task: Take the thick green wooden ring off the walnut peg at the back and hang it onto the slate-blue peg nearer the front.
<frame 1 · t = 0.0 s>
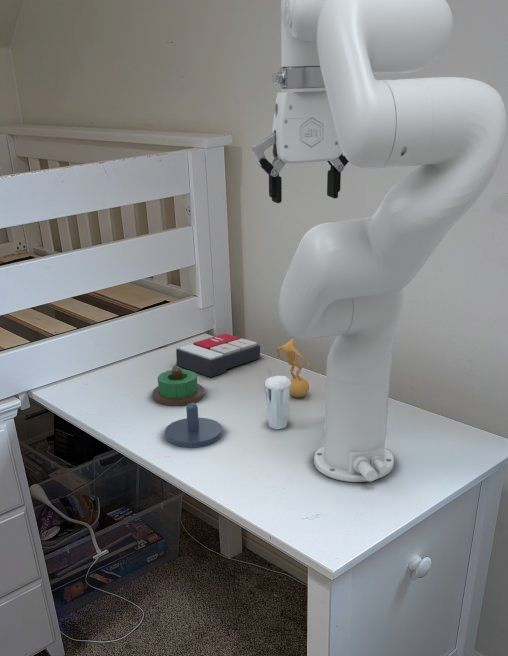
hand: (304, 199, 121), 37 cm above the table, tool pointing down, fingers open, 9 cm apart
ring: (178, 390, 145), point 1 cm above the table, touching walnut peg
calculator: (218, 362, 161), on the table
figurine: (295, 399, 143), on the table
milkshake: (276, 425, 133), on the table
slate peg: (193, 434, 131), on the table
walnut peg: (178, 395, 146), on the table
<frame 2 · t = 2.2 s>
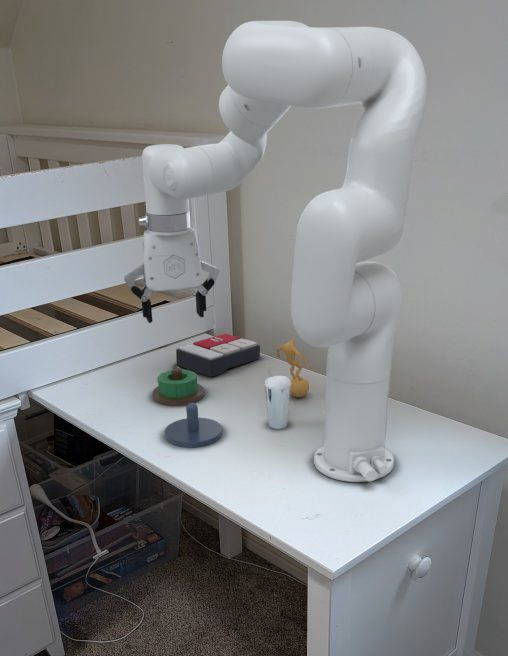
hand: (174, 317, 138), 16 cm above the table, tool pointing down, fingers open, 9 cm apart
nothing on the table moved.
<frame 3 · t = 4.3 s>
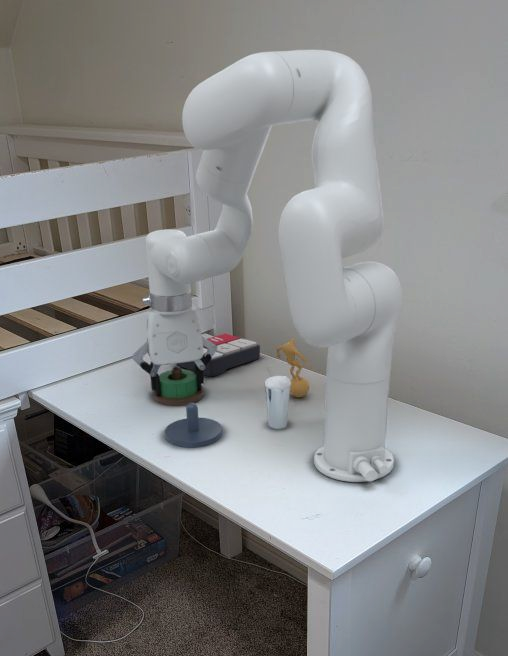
hand: (178, 389, 145), 1 cm above the table, tool pointing down, fingers closed on ring, 7 cm apart
ring: (178, 390, 145), point 1 cm above the table, touching gripper, walnut peg
everything else where it was.
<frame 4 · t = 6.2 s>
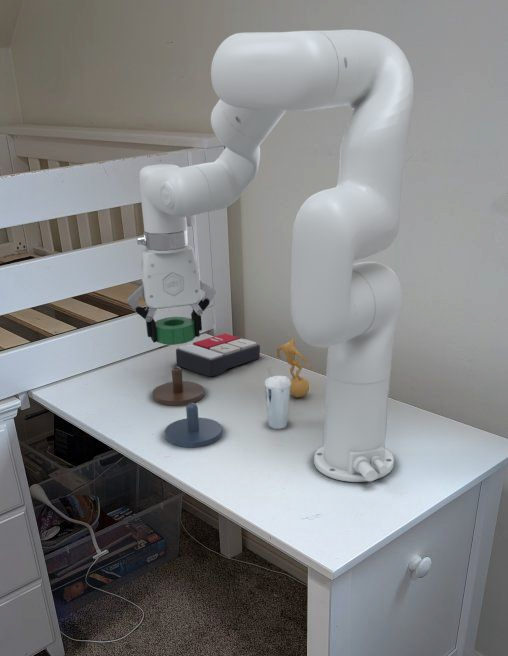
hand: (175, 336, 140), 12 cm above the table, tool pointing down, fingers closed on ring, 7 cm apart
ring: (175, 338, 140), point 12 cm above the table, touching gripper
everything else where it was.
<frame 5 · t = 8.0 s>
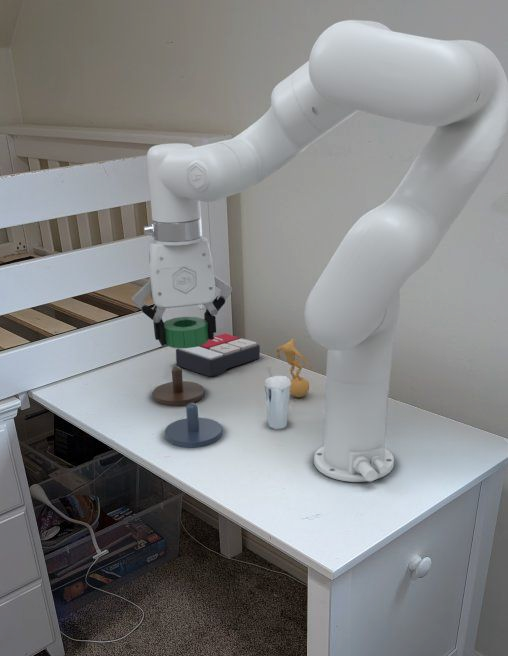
hand: (186, 339, 124), 17 cm above the table, tool pointing down, fingers closed on ring, 7 cm apart
ring: (186, 340, 124), point 16 cm above the table, touching gripper
everything else where it was.
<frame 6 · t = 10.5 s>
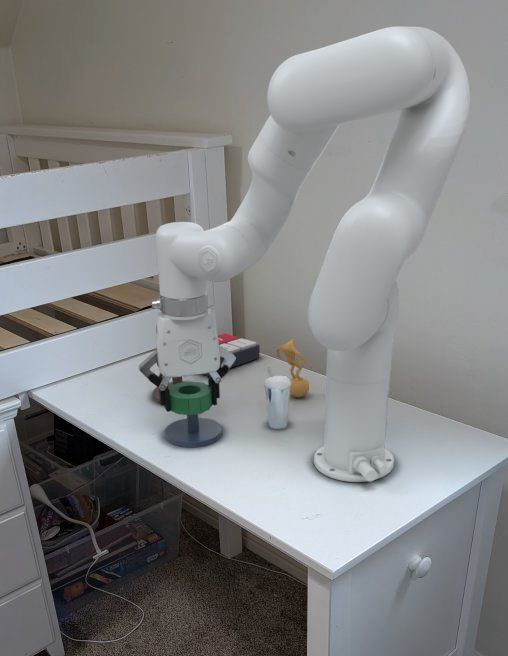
hand: (190, 404, 128), 6 cm above the table, tool pointing down, fingers closed on ring, 7 cm apart
ring: (190, 405, 128), point 5 cm above the table, touching gripper
everything else where it was.
when the fingers open (1 cm above the table, at t = 12.2 s): ring stays where it is, resting on slate peg.
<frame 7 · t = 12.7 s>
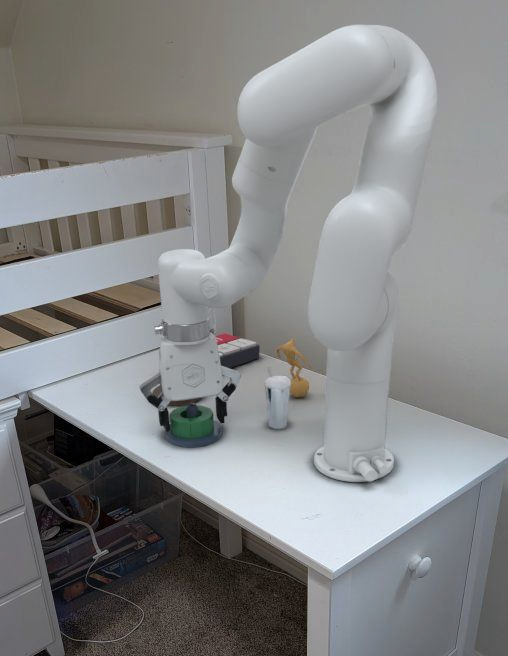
hand: (193, 424, 130), 2 cm above the table, tool pointing down, fingers open, 9 cm apart
ring: (192, 429, 130), point 1 cm above the table, touching slate peg
everything else where it was.
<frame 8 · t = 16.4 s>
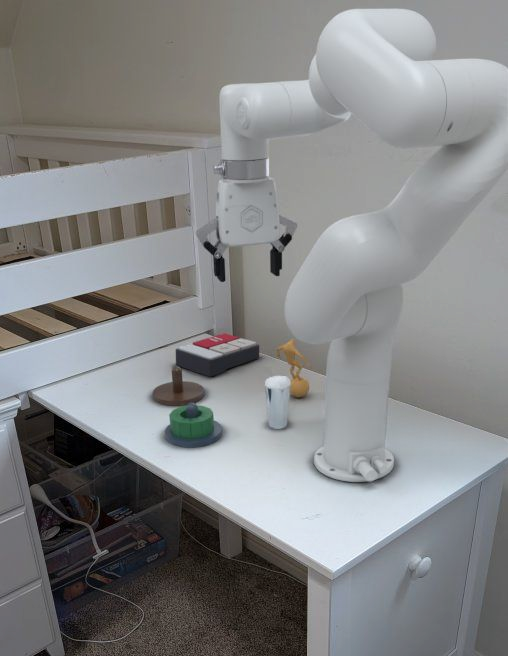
hand: (248, 277, 128), 24 cm above the table, tool pointing down, fingers open, 9 cm apart
nothing on the table moved.
at the end: ring moved 17.9 cm from its start; ring 0.2 cm off-centre on the slate peg, point 1.0 cm above the slate peg's base; ring tilted 0° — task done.
